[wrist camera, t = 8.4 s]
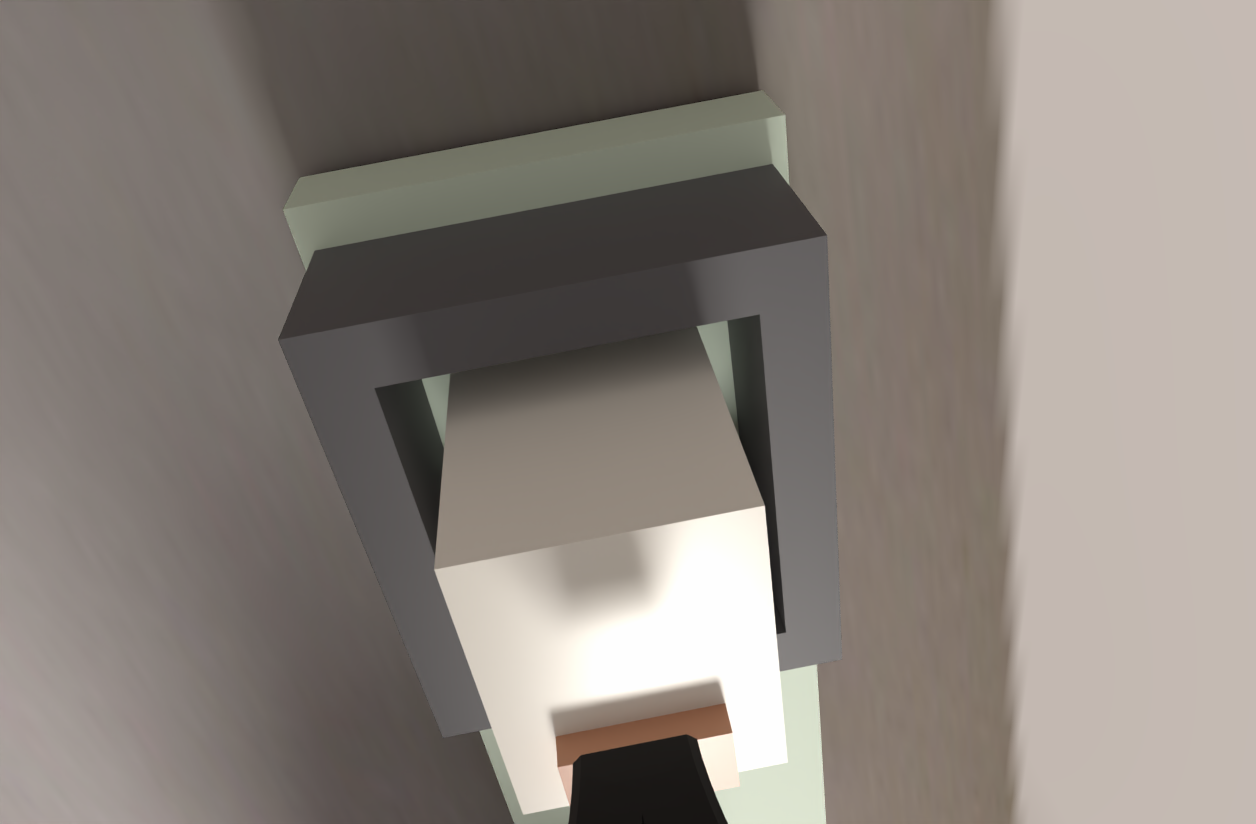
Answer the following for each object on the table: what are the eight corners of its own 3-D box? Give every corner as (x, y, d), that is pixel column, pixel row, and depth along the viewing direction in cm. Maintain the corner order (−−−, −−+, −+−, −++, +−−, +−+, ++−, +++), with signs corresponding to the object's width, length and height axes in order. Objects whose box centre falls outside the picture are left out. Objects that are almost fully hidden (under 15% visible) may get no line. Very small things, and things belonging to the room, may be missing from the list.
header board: (811, 789, 27) (862, 948, 23) (538, 843, 27) (545, 1011, 23) (762, 90, 16) (844, 179, 12) (299, 177, 16) (238, 293, 12)
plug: (711, 509, 19) (796, 791, 14) (516, 546, 19) (524, 846, 13) (682, 288, 16) (775, 532, 11) (453, 331, 16) (431, 599, 11)
